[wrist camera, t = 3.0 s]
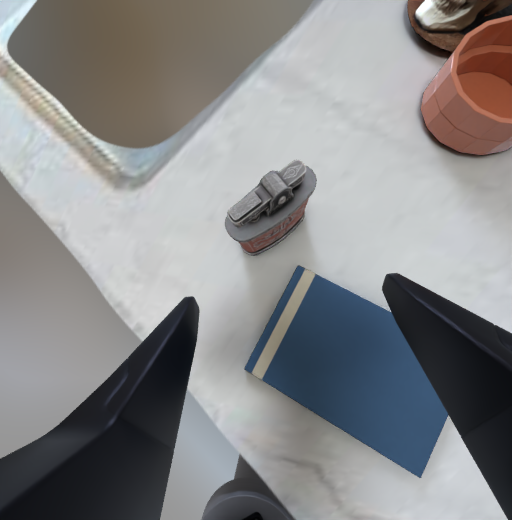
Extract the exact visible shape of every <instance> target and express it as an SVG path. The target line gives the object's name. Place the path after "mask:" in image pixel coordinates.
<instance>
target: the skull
mask: <svg viewBox="0 0 512 520" xmlns="http://www.w3.org/2000/svg"><path fill="white" fill-rule="evenodd" d="M408 15H409V19H410V22H411V25H412V27H414V28H415V29H414V30H415V31H416V33H418V34H419V35H420V36H421V37H423V38H424V39H425V40H426V41H429V42H431V44H433V45H436V47H439V48H441V49H443V48H444V49H445V50H449V51H450V52H452V51H454V50H455V48H456V47H457V46H458V44H459V43H460V42H461V40H462V39H463V38H464V36H465V35H466V34H467V33H469V32H471V31H472V30H474V29H475V28H477V27H478V26H480V25H482V24H483V23H485V22H487V21H490V20H494V19H498V18H502V17H506V16H510V15H512V0H408Z"/></svg>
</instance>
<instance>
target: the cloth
mask: <svg viewBox="0 0 512 520" xmlns="http://www.w3.org/2000/svg"><path fill="white" fill-rule="evenodd" d="M245 370H247V371H248V372H250V373H251V374H253V375H254V376H256V377H258V378H259V379H261V380H263V381H264V382H266V383H268V384H269V385H271V386H272V387H274V388H276V389H277V390H279V391H280V392H282V393H284V394H285V395H287V396H288V397H290V398H292V399H293V400H295V401H297V402H298V403H300V404H301V405H303V406H305V407H306V408H308V409H309V410H311V411H313V412H314V413H316V414H318V415H319V416H321V417H322V418H324V419H326V420H327V421H329V422H330V423H332V424H334V425H335V426H337V427H338V428H340V429H342V430H343V431H345V432H347V433H348V434H350V435H351V436H353V437H355V438H356V439H358V440H359V441H361V442H363V443H364V444H366V445H368V446H369V447H371V448H372V449H374V450H376V451H377V452H379V453H380V454H382V455H384V456H385V457H387V458H389V459H390V460H392V461H393V462H395V463H397V464H398V465H400V466H401V467H403V468H405V469H406V470H408V471H409V472H411V473H413V474H414V475H416V476H418V477H419V478H421V476H422V474H423V471H424V469H425V467H426V465H427V462H428V460H429V458H430V455H431V453H432V451H433V449H434V446H435V444H436V442H437V440H438V437H439V435H440V433H441V430H442V428H443V426H444V424H445V421H446V419H447V417H448V413H447V411H446V409H445V408H444V406H443V404H442V402H441V401H440V399H439V397H438V395H437V394H436V392H435V390H434V388H433V386H432V385H431V383H430V381H429V379H428V378H427V376H426V374H425V372H424V371H423V369H422V367H421V365H420V364H419V362H418V360H417V358H416V357H415V355H414V353H413V351H412V350H411V348H410V346H409V344H408V343H407V341H406V339H405V337H404V336H403V334H402V332H401V330H400V329H399V327H398V325H397V323H396V321H395V319H394V317H393V314H392V313H391V312H389V311H387V310H385V309H383V308H381V307H379V306H377V305H375V304H373V303H371V302H369V301H367V300H365V299H363V298H361V297H360V296H358V295H356V294H354V293H352V292H350V291H348V290H346V289H344V288H342V287H340V286H338V285H336V284H334V283H332V282H330V281H328V280H326V279H324V278H322V277H320V276H318V275H316V274H315V273H313V272H311V271H309V270H307V269H305V268H303V267H301V266H297V268H296V270H295V272H294V274H293V276H292V278H291V280H290V282H289V284H288V286H287V288H286V289H285V291H284V293H283V295H282V297H281V299H280V301H279V303H278V305H277V307H276V309H275V311H274V313H273V314H272V316H271V318H270V320H269V322H268V324H267V326H266V328H265V330H264V332H263V334H262V336H261V338H260V339H259V341H258V343H257V345H256V347H255V349H254V351H253V353H252V355H251V357H250V359H249V361H248V363H247V364H246V366H245Z"/></svg>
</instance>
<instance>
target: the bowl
mask: <svg viewBox="0 0 512 520" xmlns="http://www.w3.org/2000/svg"><path fill="white" fill-rule="evenodd" d="M421 111H422V114H423V118H424V121H425V124H426V127H427V128H428V129H429V131H430V132H431V133H432V134H433V135H434V136H435V137H436V138H437V139H438V141H439V142H441V143H443V144H445V145H447V146H449V147H451V148H453V149H455V150H457V151H459V152H463V153H470V154H477V155H485V154H490V153H495V152H500V151H505V150H507V149H509V148H511V147H512V15H510V16H506V17H502V18H498V19H494V20H490V21H487V22H485V23H483V24H482V25H480V26H478V27H477V28H475V29H474V30H472V31H471V32H469V33H467V34H466V35H465V36H464V38H463V39H462V40H461V42H460V43H459V44H458V46H457V47H456V48H455V50H454V51H453V53H452V54H451V55H450V57H449V58H448V59H447V61H446V62H445V63H444V65H443V66H442V67H441V69H440V70H439V71H438V73H437V74H436V75H435V77H434V78H433V79H432V81H431V82H430V84H429V85H428V87H427V88H426V89H425V91H424V93H423V100H422V106H421Z"/></svg>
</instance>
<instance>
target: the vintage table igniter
mask: <svg viewBox="0 0 512 520" xmlns="http://www.w3.org/2000/svg"><path fill="white" fill-rule="evenodd" d="M316 182H317V180H316V175H315V174H314V172H313V170H312V169H310V168H309V167H308V166H305V165H304V164H303V163H302V162H301V161H300V160H294V161H292V162H291V163H289V164H288V165H287V166H286V167H284V168H283V169H282V170H280V171H279V172H278V171H271V172H269V173H267V174H266V175H265V176H264V177H263V178H262V179H261V181H260V183H259V184H258V186H256V187H255V188H254V189H253V190H252V191H251V192H250V193H248V194H247V195H246V196H245V197H244V198H243V199H241V201H239V202H238V203H237V204H235V205H234V206H233V207H231V208H230V209H229V210H228V212H227V217H226V220H225V227H226V230H227V232H228V234H229V235H230V236H231V237H232V238H233V239H234V240H236V241H238V242H239V243H240V245H241V247H242V249H243V250H244V251H245V252H246V253H247V254H249V255H253V256H254V255H258V254H260V253H262V252H264V251H266V250H268V249H270V248H271V247H273V246H274V245H276V244H278V243H279V242H281V241H282V240H283V239H284V238H285V237H287V236H288V235H289V234H290V233H291V232H292V231H293V230H294V229H295V228H296V227H297V226H298V225H299V224H300V223H301V221H302V220H303V218H304V216H305V207H306V205H307V202H308V199H309V197H310V196H311V195H312V193H313V191H314V189H315V187H316Z"/></svg>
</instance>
